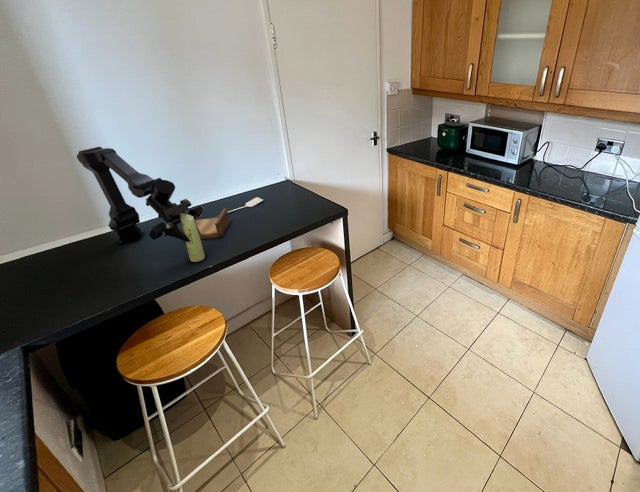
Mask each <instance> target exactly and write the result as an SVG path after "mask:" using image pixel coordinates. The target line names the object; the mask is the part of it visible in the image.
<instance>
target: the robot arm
mask: <svg viewBox="0 0 640 492" xmlns="http://www.w3.org/2000/svg"><path fill="white" fill-rule="evenodd" d="M76 159H77V160H78V162H79V163H80V164H81V165H82V167H83V168H84V169H86V170H87V171H90V172H91V173H92V174H93V175H94V177H95V180H96V181H97V183H98V185H99V187H100V189H101V191H102V193H103V195H104V196H105V198H106V201H107V202H108V204H109V212H108V216H109V218H110V220H109V223H108V225H107V226H108V227H109V229H110V231H112V232H113V231H114V232H116V233H117V236H118V238H119V240H120V241H119V244H120V245H121V244H126V243H133V242H138V241H140V238H141V237H142V235H143V231H142V230H141V228H140V226H139V225H138V224H140V223H141V220H140V214H139V213H138V211H137V210H136V207H134V206H131V205H130V204H128V203H127V202H126V201H125V198H124V196H123V194H122V192H121V191H120V188H119V186H118V184H117V182H116V180H115V178H114V176H113V174H112V172H111V170H112V171H113V172H114V173H115V174H117V175H118V176H119V177H120V178H121V179H122V180H123V181H125V182H126V184H127V187H128V188H127V189H128V190H129V192H130V193H131V194H132V195H133V196H134V197H136V198H139V199H140V198H141V199H143V198H145V197H146V198H145V205H146V207H149V206H150V207H151V209H153V210H154V212H155V213H157V217H158V218H159V219H162V220H164V222H159V223H157V224H156V225H153V226H152V227H151V229H150V231H149V232H148V236H149V237H150V238H151V239H152V240H153V241H154V240H158V239H159V238H161V237H162V236H163V234H164V237H171V238H175V239H179V240H180V241H184V242H185V243H186V242H189V241H190V240H189V239H188V237H187V236H186V235H184V232H182V230H181V229H180V228H179V226H178V225H179V224H182V222H181V217H180V214H181V213H185V214H186V213H187V214H188V215H190V216H193V217H194V220H195V223H196V220H198V218H200V217H201V216H202V214H203V213H204V211H205V208H204V207H203V206H202V205H195V206H194V207H192V203H191V201H190V200H188V198H183V199H182V200H179V204H177V203H176V202H172V201H171V200H170V199H171V198H172V196H173V194H174V192H175V190H176V185H175V184H174V182H173V181H170V180H167V179H162V178H161V177H158V178H155V179H154V178H152V177H151V176H149V175H148V174H146V173H145V174H144V173H142V172H141V173H140V172H139V171H137V169H135V168H134V167H133V166H132V165H131V164H129V163H128V162H127V161H126V160H125V159H123V158H122V157H121V156H120V155H118V153H117V152H116V150H115V149H114V148H112V147H111V148H110V147H105V148H104V147H101V146H96V147H92V148H86V149H83V150H82V149H81V150H79V151H78V154H77V155H76ZM189 207H191V208H189ZM187 211H188V212H187ZM165 222H166V223H165ZM196 226H197V224H196ZM197 229H198V226H197ZM198 232H199V236H200V235H201V234H200V231H199V229H198Z"/></svg>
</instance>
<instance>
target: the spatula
mask: <svg viewBox="0 0 640 492" xmlns="http://www.w3.org/2000/svg"><path fill="white" fill-rule="evenodd" d="M263 201H264V199H262V198H260V197H258V196H257V197H254V198H252V199H251V200H249V201H248V202H246V203H245V204H244V206H240V207H238V208H235V209H232V210H228V213H231V212H235V211H237V210H241V209H244V208H252V207H255V206H256V205H258V204H259V203H261V202H263ZM219 216H220V214H218V215H215V216H213V217H210V219H212V218H218V217H219Z"/></svg>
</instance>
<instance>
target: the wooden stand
mask: <svg viewBox="0 0 640 492" xmlns="http://www.w3.org/2000/svg"><path fill="white" fill-rule="evenodd" d="M219 215H220V216H219V217H218V218H213V217H211V218H212V219H211V218H204V219H196V224H197V226H198V229H199V231H200V234H201V235H200V239H201V240H208V239H217V238H223V236H224V235H225V232H226V230H227V228H228V226H229V225H230V224H231V223H230V222H231V219H230V216H229V211H228V209H227V208H225V207H224V208H223V209H222V211H221V212H220V214H219Z"/></svg>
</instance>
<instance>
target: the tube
mask: <svg viewBox="0 0 640 492" xmlns="http://www.w3.org/2000/svg"><path fill="white" fill-rule="evenodd" d="M180 217H181V226H182V231H183V232H182V233H183V234H184V235H186V236H187V237H188V239H189V240H190V241H189V242H186V241H185V245H186V249H187V253H188V257H189V258H188V259H189V260H190V262H193V263H199V262H201V261H203V260H205V258H206V255H205V251H204V248H203V247H204V246H203V244H202V239H200V236H199V232H198V229H197V226H196V223H195V220H194V217H193V216H190V215H188V213H186V212H185V213H181V214H180Z"/></svg>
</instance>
